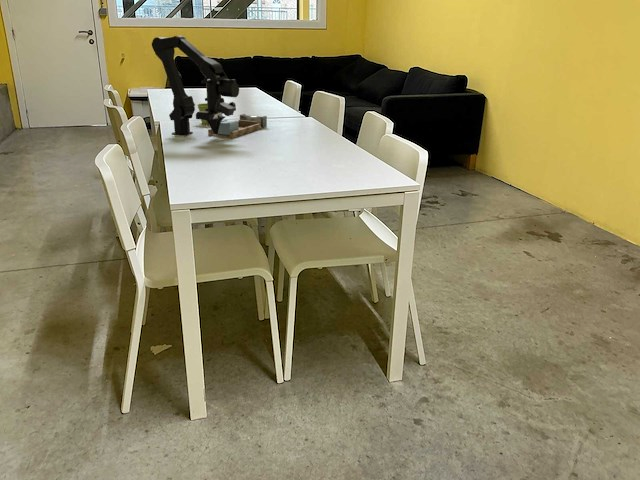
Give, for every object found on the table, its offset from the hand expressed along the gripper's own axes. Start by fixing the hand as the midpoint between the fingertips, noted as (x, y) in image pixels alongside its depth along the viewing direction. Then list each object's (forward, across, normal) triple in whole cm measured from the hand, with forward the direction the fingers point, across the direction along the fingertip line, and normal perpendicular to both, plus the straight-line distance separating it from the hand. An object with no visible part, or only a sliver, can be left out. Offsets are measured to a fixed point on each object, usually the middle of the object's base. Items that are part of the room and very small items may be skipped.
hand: (215, 134), depth 219 cm
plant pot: (+2, +27, +22) cm, 35 cm away
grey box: (+1, +9, 0) cm, 9 cm away
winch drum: (+2, +31, 0) cm, 31 cm away
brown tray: (+2, +15, 0) cm, 15 cm away
